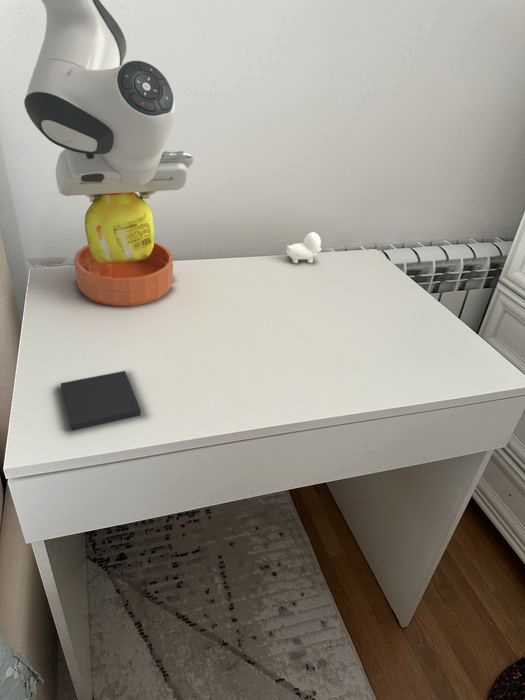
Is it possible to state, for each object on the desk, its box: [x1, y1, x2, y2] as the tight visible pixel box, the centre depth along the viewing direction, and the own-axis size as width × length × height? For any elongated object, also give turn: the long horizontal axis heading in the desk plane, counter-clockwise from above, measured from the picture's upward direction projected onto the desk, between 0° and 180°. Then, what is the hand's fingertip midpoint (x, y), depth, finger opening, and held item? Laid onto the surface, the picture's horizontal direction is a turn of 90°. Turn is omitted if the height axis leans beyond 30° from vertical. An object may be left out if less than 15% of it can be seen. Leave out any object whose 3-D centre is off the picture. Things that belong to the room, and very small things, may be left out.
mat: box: [60, 370, 142, 432], centre depth 73 cm, size 9×9×1 cm
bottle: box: [84, 192, 155, 264], centre depth 92 cm, size 12×6×20 cm, turn 115°
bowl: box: [73, 241, 174, 307], centre depth 99 cm, size 17×17×6 cm
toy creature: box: [286, 231, 323, 264], centre depth 114 cm, size 5×8×6 cm, turn 102°
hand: (118, 196), depth 92 cm, fingers closed on bottle, 7 cm apart
